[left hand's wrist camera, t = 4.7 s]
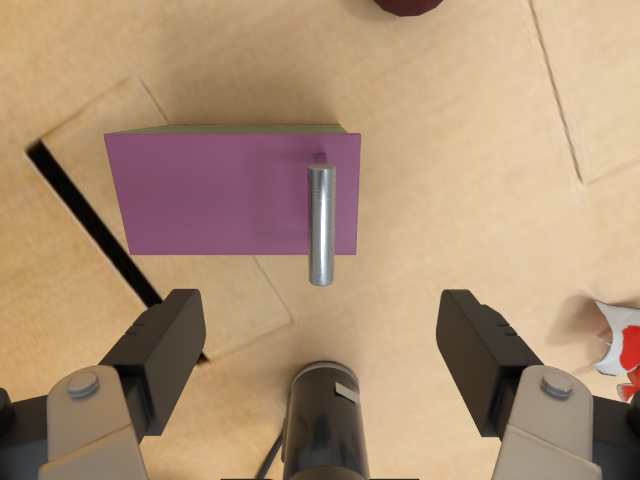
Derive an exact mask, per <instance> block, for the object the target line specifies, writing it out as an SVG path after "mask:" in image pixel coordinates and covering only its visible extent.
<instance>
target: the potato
mask: <svg viewBox="0 0 640 480" xmlns="http://www.w3.org/2000/svg"><path fill="white" fill-rule="evenodd" d="M374 1H375V2H376V3H377V4H378V5H379V6H380V7H381V8H382V9H383V10H385V11H387V12H390V13H392V14H395V15H397V16H400V17H401V16H419V15H421V14H423V13H425V12H428V11H430V10H432V9H434V8H436V7H437V6H438V5H439V4H440V3H441V2H442V1H443V0H374Z"/></svg>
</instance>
